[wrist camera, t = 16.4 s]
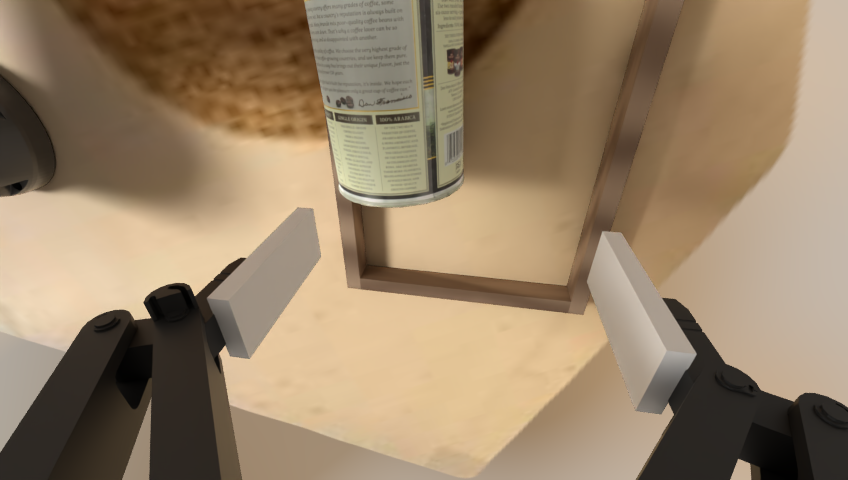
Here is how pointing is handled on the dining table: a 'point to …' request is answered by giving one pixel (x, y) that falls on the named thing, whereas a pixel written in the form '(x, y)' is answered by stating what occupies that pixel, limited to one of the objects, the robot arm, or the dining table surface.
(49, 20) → the dining table surface
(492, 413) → the dining table surface
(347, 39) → the coffee can
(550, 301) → the walnut frame
